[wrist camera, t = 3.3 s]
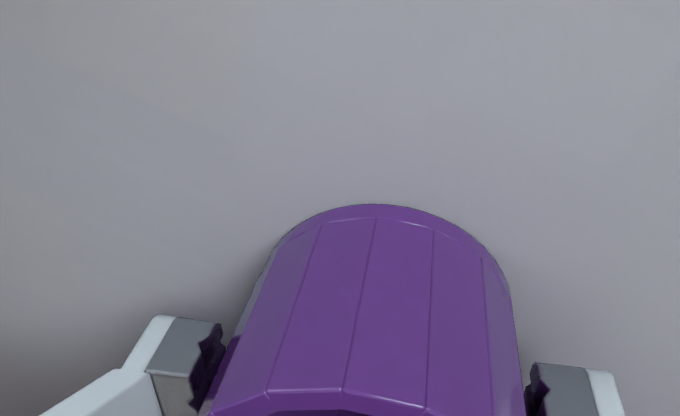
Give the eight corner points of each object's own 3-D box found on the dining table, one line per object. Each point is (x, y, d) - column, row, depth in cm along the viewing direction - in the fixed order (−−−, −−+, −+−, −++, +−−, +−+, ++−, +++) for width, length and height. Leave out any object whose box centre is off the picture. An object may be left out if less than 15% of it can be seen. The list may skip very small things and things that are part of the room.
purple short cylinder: (568, 290, 12) (626, 512, 8) (415, 413, 16) (403, 612, 12) (337, 153, 11) (273, 329, 7) (228, 316, 15) (143, 497, 11)
